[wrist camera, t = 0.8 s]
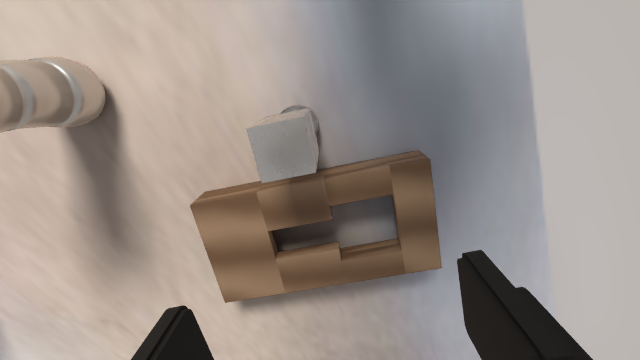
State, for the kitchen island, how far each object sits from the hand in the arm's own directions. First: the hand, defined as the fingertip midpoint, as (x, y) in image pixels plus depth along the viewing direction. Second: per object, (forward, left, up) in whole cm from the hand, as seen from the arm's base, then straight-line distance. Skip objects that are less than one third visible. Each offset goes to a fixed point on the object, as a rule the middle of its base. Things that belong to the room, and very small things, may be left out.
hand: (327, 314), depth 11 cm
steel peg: (-4, -3, -24) cm, 24 cm away
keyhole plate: (+7, -3, -24) cm, 25 cm away
